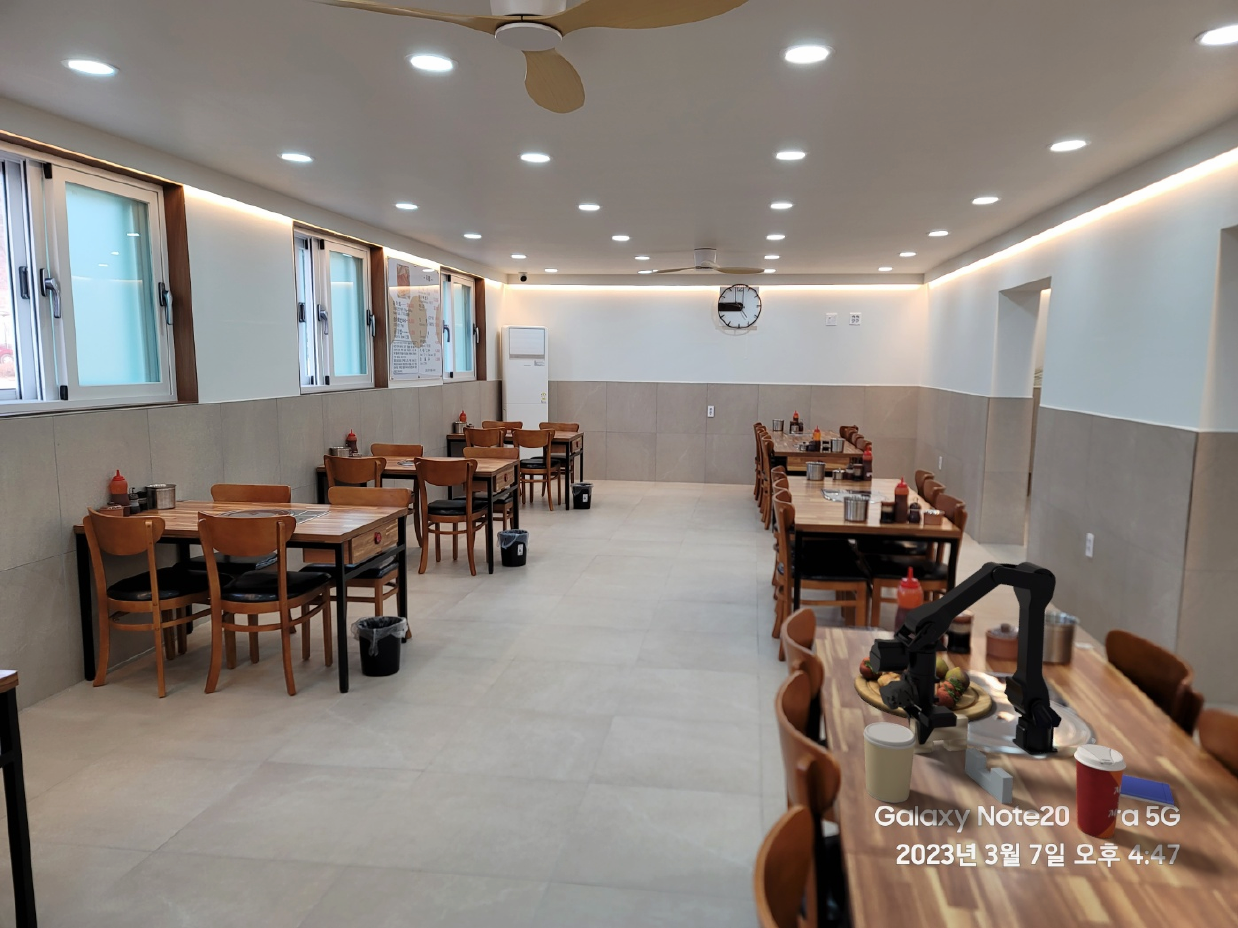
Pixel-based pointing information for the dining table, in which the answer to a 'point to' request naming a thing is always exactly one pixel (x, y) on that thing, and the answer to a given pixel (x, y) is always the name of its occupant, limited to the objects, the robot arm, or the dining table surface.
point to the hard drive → (1146, 791)
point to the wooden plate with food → (950, 690)
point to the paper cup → (1098, 789)
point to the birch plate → (943, 736)
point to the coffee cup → (888, 761)
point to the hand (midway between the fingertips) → (918, 741)
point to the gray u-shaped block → (989, 776)
